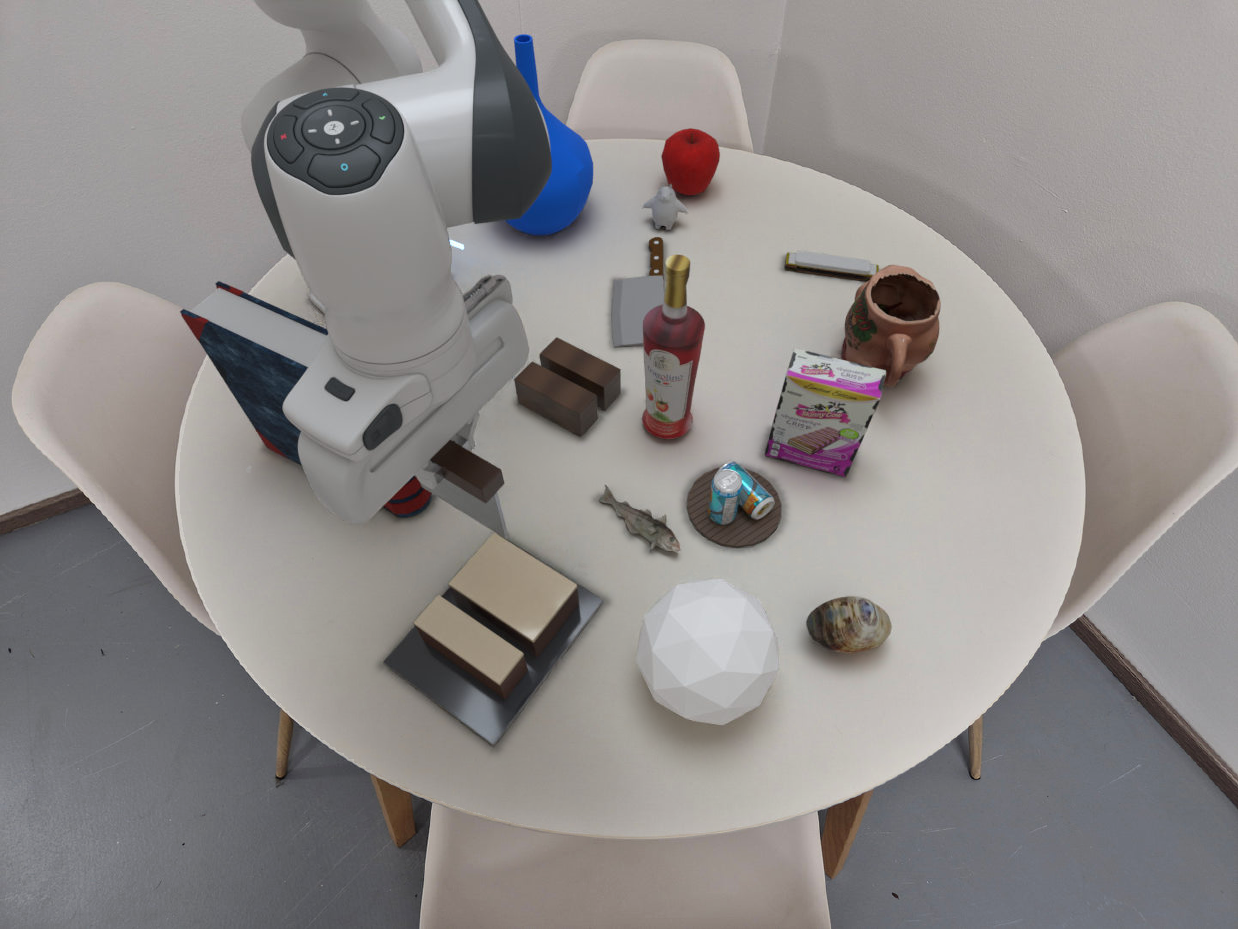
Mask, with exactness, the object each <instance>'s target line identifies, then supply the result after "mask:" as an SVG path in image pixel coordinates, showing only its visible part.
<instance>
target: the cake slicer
mask: <svg viewBox="0 0 1238 929" xmlns="http://www.w3.org/2000/svg"><path fill="white" fill-rule="evenodd" d="M430 460H431V461H432V463H436V464H438V465H440V466H441V467H442V469H443V474H444V475H445V477H444V479H443V480H442V481H441V482H440V483H439V484H438V485H437V486H436V487H435V488H434V489H433V490H432V489H430V488H428V487H427V486H425V485H424V484H422V483H421V482H420V484H421V486H422V487H423V488H424V489H426V490H428V491H429V492H431V493H432V495H434V496H436V497H437V498H438V499H441V500H442V501H444V502H445V503H447V504H448V505H450V506H452V507H453V508H455V509H457V510H458V511H459V512H461V513H463V514H465V515H466V516H468V517H470V518H471V519H473V520H474V521H476V522H477V523H479V524H481V525H482V526H484V527H486V528H487V529H489V530H490V531H491V532H493V533H496V534H499V535H500V536H502V537H503V538H505V539H508V537H509V532H508V529H507V526H506V521H505V517H504V514H503V510H502V506H501V502H500V498H499V494H498V491H500V489H501V488H502V487H503V486H504V485H505V484H506V483H505V479H504V474H503V471H502V469H501V468H500V467H498V466H496V465H494V464H493V463H491V462H490V461H488V460H486V459H484V458H482V457H481V456H479V455H477V454H476V453H474V452H472V451H469V450H467V449H465V448H464V447H462V446H460V445H458V444H457V443H455V442H453V441H452V440H449V441H448V442H447V443H446V444H445V445H444V446H443V447H442V448H441V449H440V450H439V451H438V452H437V453H436V454H435V455H434V456H433V457H432V458H431V459H430Z"/></svg>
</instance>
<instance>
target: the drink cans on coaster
mask: <svg viewBox="0 0 1238 929" xmlns="http://www.w3.org/2000/svg"><path fill="white" fill-rule="evenodd" d="M686 510H687V514H688V518H689V520H690V522H691V524H692V525H693V526H694V529H695V530H696V531H697V532H698V533H699V534H701V536H703V537H704V538H706V540H708V541H709V542H712V543H715V544H717V545H720V546H721V547H727V548H735V549H742V548H747V547H748V548H749V547H754V546H756V545H759V544H760V543H762V542H764V541H766V540H767V539H768V538H770V536H771V535H772V534H773V533H775V531H776V530H777V528H778V525H779V523H780V522H781V519H782V502H781V499H780V496H779V493H778V491H777V490H776V489H775V487H774V486H773V484H772V483H771V482H770V481H769V480H768V479H766V478H765V477H764V476H763V475H761V474H760V473H759V472H756V471H754V470H751V469H748V468H745V467H743V465H741V464H740V463H737V462H736V461H735V460H734V459H733V460H732V459H731V460H728V461H727V462H725V463H723V464H722V466H721V467H716V468H714V469H713V468H712V469H711V470H709V471H706V472H704V473H703V474H702V475H700V476H699V477H698V478H697V479H696V480H695V481H694V482H693V484H692V485H691V487H690V488H689V491H688V493H687V501H686Z"/></svg>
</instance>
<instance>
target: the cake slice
mask: <svg viewBox="0 0 1238 929" xmlns="http://www.w3.org/2000/svg"><path fill="white" fill-rule="evenodd" d="M441 596H442V595H440V594H437V596H435V598H434V599H432V601H431V602H430V603H429V604H428V605H427V606H426V607H425V609H423V611H422V612H421V613H420V614H419V616H418V617H416V619H414V621H413V624H414V627H415V626H416V628H417V630H418V632H419V634H420V635H421V637H422V639H423V641H425V642H426V643H427V644H429V645H430V646H431V647H433V648H434V649H436V650H437V651H438V652H440V653H441V654H443V655H444V656H445V657H447V658H448V659H450V660H451V661H452V662H454V663H455V664H456V665H458V666H459V667H461V668H462V669H463V670H465V671H466V672H468V673H469V674H470V675H472V676H473V677H474V678H476V679H477V680H479V681H480V682H481V683H483V684H484V685H486V686H487V687H488V688H490V689H491V690H493V691H494V692H495V693H497V694H498V695H499V696H501V697H502V698H504V699H506V698H507V697H508V696H509V694H510V693H511V692H512V690H513V689H514V688H515V686H516V685H517V684H518V683H519V681H520V680H521V679H522V677H523V676H524V675H525V674H526V672H527V671H528V668H527V664H526V661H525V657H524V654H523V652H521V651H520V650H518V649H517V648H515V647H514V646H512V645H511V644H509V643H508V642H507V641H505V640H504V639H502V638H501V637H499V636H498V635H496V634H495V633H493V632H492V631H490V630H489V629H488V628H486V627H485V626H483V625H482V624H480V623H479V622H477V621H476V620H474V619H473V618H472V617H470V616H469V615H467V614H466V613H464V612H463V611H461V610H460V609H458V608H457V607H456V606H454V605H453V604H451V603H450V602H448V601H447V600H445V599H444V598H442V597H441Z"/></svg>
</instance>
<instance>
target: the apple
mask: <svg viewBox="0 0 1238 929" xmlns="http://www.w3.org/2000/svg"><path fill="white" fill-rule="evenodd" d="M662 149H663V150H662V152H661V163H662V169H663V172H664V175H665V179H666V181H667V184H668V186H670V184H671V185H672V189H673V190H674V192H677V193H679V194H680V195H684V196H695V195H699V194H700V193H701V194H702V193H703V192H705V191H706V190H707V189H708V188H709V186H710V184H711V182H712V180H713V178H714V177H715V175H716V172H717V169H718V166H719V163H720V158H721V152H720V147H719V144H718V142H717V140H716V138H715V137H713V136H712V135H710V134H709V133H708V132H705V131H703V130H701V129H698V128H692V127H690V128H684V129H681V130H678V131H676V132H674V133H673V134H672V135H670V136H669V137H668V138H666V139H665V142H664V146H663V148H662Z"/></svg>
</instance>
